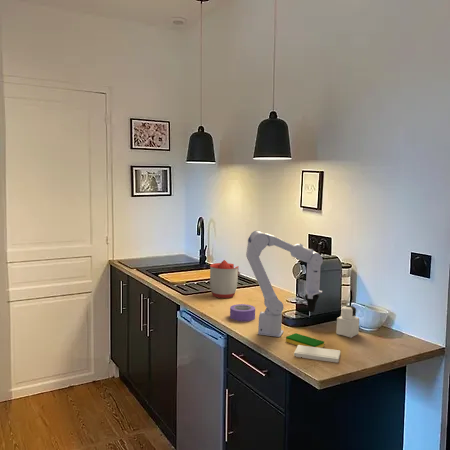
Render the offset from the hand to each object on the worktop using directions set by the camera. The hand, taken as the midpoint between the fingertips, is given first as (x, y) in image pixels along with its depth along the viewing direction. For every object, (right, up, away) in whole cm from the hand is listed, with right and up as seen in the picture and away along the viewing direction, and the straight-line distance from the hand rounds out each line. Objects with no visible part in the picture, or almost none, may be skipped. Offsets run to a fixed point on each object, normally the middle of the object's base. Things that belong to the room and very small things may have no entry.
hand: (311, 311), depth 204 cm
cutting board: (-2, -12, -25) cm, 27 cm away
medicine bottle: (+16, -10, +1) cm, 18 cm away
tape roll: (-29, -7, +20) cm, 36 cm away
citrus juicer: (-37, -2, +60) cm, 70 cm away
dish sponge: (-5, -11, -12) cm, 18 cm away
